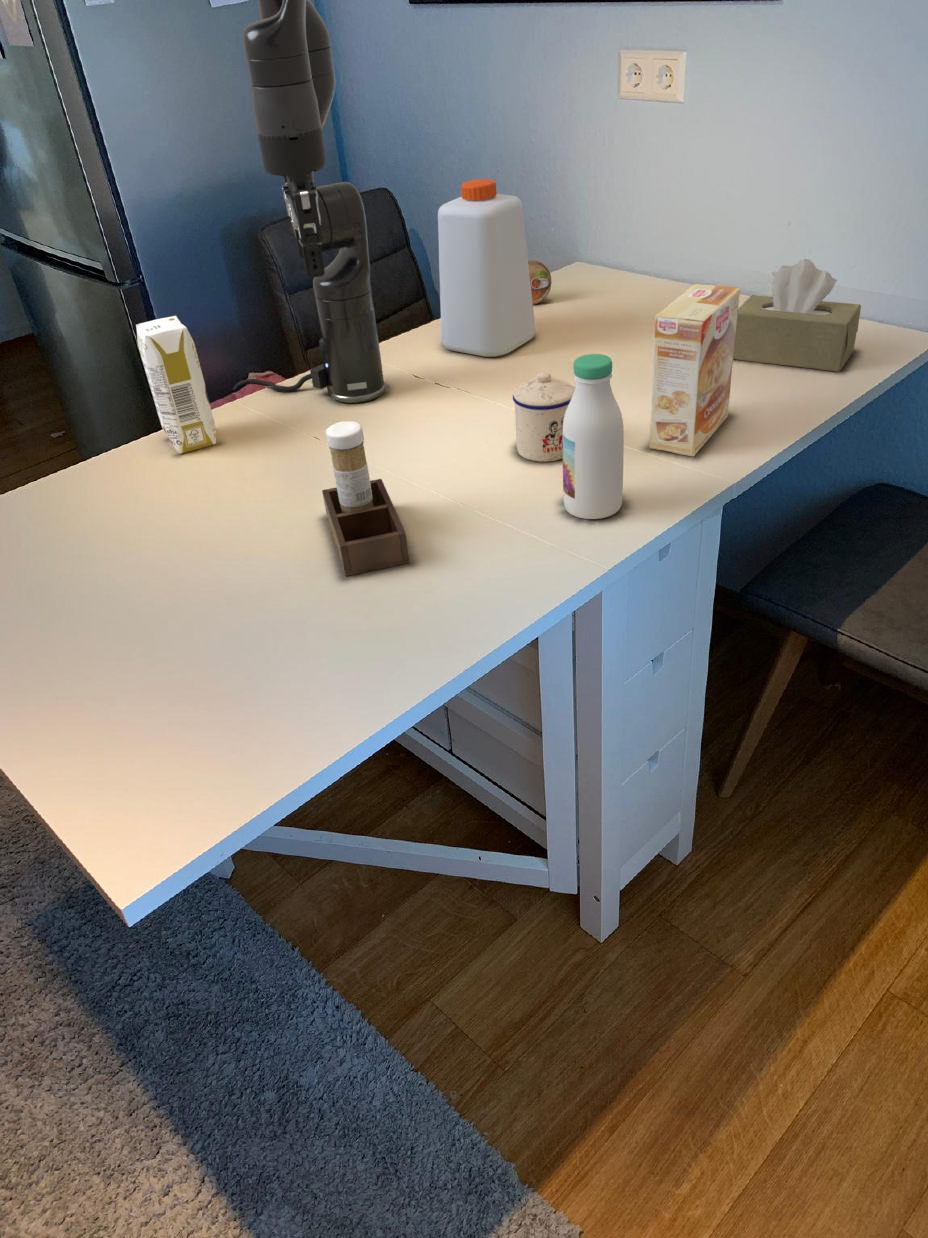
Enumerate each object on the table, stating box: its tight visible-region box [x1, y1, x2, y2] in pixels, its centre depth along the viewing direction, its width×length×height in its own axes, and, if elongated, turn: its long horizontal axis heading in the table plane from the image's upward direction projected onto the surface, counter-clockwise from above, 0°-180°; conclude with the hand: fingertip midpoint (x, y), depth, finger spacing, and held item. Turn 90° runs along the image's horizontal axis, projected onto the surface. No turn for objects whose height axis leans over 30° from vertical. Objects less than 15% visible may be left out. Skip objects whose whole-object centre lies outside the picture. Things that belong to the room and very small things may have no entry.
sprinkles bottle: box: [325, 420, 374, 513], centre depth 119 cm, size 5×5×13 cm
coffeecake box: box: [649, 283, 741, 457], centre depth 133 cm, size 15×7×20 cm, turn 148°
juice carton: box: [135, 315, 217, 454], centre depth 144 cm, size 8×9×19 cm
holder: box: [321, 478, 411, 577], centre depth 120 cm, size 8×15×4 cm, turn 15°
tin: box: [528, 260, 552, 305], centre depth 191 cm, size 15×3×8 cm, turn 81°
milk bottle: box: [562, 353, 625, 520], centre depth 117 cm, size 8×8×20 cm
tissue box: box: [733, 258, 862, 373], centre depth 154 cm, size 19×10×16 cm, turn 59°
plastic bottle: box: [437, 178, 536, 358], centre depth 168 cm, size 15×15×28 cm
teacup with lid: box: [512, 371, 575, 463], centre depth 135 cm, size 12×9×12 cm
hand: (311, 266), depth 119 cm, fingers open, 8 cm apart
